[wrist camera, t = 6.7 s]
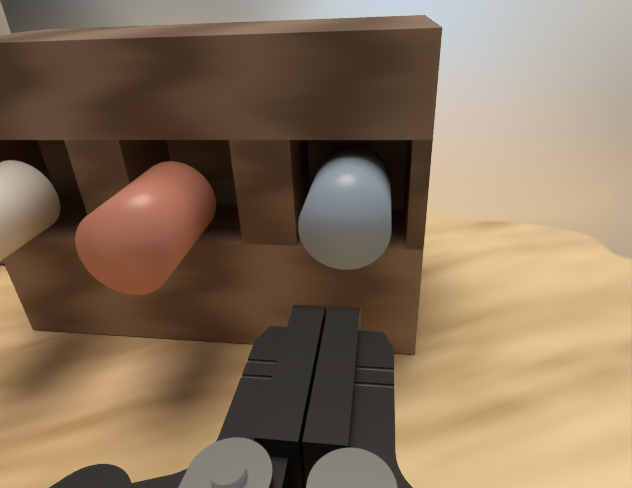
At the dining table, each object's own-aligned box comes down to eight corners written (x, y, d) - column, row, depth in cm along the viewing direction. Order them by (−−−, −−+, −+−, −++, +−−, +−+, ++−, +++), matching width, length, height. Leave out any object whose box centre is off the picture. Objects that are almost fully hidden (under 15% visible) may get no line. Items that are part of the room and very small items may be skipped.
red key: (91, 292, 16) (62, 208, 14) (150, 232, 20) (132, 161, 18) (178, 297, 15) (158, 210, 14) (221, 234, 19) (209, 161, 18)
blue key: (300, 267, 17) (295, 185, 15) (317, 214, 20) (314, 145, 19) (389, 271, 16) (393, 186, 15) (389, 216, 20) (392, 145, 18)
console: (33, 329, 24) (-91, 45, 18) (111, 254, 31) (44, 29, 24) (414, 354, 22) (441, 27, 15) (408, 265, 28) (425, 15, 22)
